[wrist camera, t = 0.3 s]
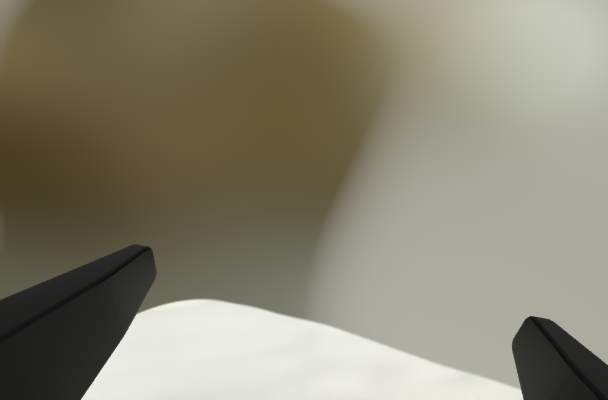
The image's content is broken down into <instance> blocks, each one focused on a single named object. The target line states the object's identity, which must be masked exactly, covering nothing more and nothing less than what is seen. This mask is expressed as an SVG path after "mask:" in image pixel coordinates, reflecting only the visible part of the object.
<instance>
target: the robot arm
mask: <svg viewBox="0 0 608 400" xmlns="http://www.w3.org/2000/svg"><path fill="white" fill-rule="evenodd" d="M156 273H157V271H156V265H155V260H154V256H153V251H152V249H151V248H150V247H148V246H143V245H138V244H134V245H131V246H128V247H126V248H124V249H121V250H119V251H116V252H114V253H112V254H110V255H107V256H104V257H102V258H100V259H97V260H95V261H93V262H90V263H88V264H85V265H83V266H81V267H78V268H76V269H74V270H71V271H68V272H66V273H64V274H61V275H59V276H57V277H54V278H52V279H50V280H47V281H45V282H42V283H40V284H37V285H35V286H33V287H31V288H28V289H25V290H23V291H20V292H18V293H16V294H13V295H11V296H9V297H6V298H4V299H1V300H0V400H81V399H82V397H83V396H84V394H85V393H86V391H87V390H88V388H89V387H90V385H91V384H92V382H93V381H94V379H95V378H96V377H97V375H98V374H99V372H100V371H101V369H102V368H103V366H104V365H105V363H106V362H107V360H108V359H109V357H110V356H111V354H112V353H113V352H114V350H115V349H116V347H117V346H118V344H119V343H120V341H121V340H122V338H123V337H124V335H125V333H126V332H127V330H128V328H129V326H130V325H131V323H132V321H133V319H134V317H135V316H136V314H137V312H138V310H139V308H140V306H141V305H142V303H143V301H144V299H145V297H146V295H147V294H148V292H149V290H150V288H151V286H152V284H153V283H154V281H155V278H156ZM512 351H513V355H514V360H515V364H516V369H517V373H518V377H519V382H520V386H521V390H522V395H523V399H524V400H608V365H607V364H605V363H604V362H603V361H602V360H601V359H599V358H598V357H597V356H596V355H594V354H593V353H592V352H591V351H589V350H588V349H587V348H585V347H584V346H583V345H582V344H581V343H579V342H578V341H577V340H576V339H574V338H573V337H572V336H571V335H569V334H568V333H567V332H566V331H564V330H563V329H562V328H561V327H559V326H558V325H557V324H556V323H554V322H553V321H551V320H549V319H545V318H539V317H534V316H530V317H528V318H526V319H525V321H524V322H523V324H522V326H521V327H520V329H519V331H518V332H517V334H516V336H515V337H514V339H513V342H512Z"/></svg>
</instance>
